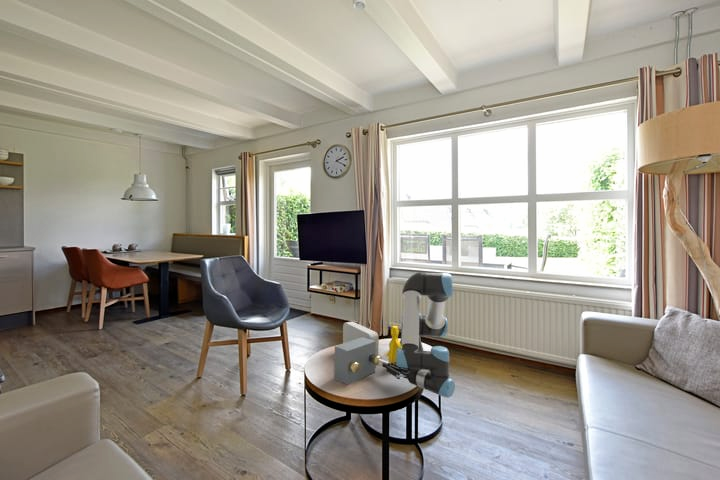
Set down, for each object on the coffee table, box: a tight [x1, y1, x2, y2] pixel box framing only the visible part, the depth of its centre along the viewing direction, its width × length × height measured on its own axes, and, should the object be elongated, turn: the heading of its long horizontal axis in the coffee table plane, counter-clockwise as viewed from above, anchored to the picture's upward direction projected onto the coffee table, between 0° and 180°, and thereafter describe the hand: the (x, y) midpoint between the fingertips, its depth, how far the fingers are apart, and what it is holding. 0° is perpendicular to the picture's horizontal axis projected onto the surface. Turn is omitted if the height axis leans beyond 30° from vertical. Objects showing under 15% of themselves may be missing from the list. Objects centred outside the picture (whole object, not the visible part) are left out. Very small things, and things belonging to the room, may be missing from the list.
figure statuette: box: [385, 325, 402, 363], centre depth 174 cm, size 18×8×22 cm, turn 46°
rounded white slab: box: [342, 321, 380, 356], centre depth 184 cm, size 29×8×18 cm, turn 33°
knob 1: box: [349, 362, 360, 373], centre depth 155 cm, size 4×9×4 cm, turn 46°
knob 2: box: [369, 355, 383, 367], centre depth 163 cm, size 4×9×4 cm, turn 46°
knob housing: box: [333, 337, 376, 386], centre depth 162 cm, size 20×9×16 cm, turn 136°
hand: (379, 362), depth 160 cm, fingers closed
